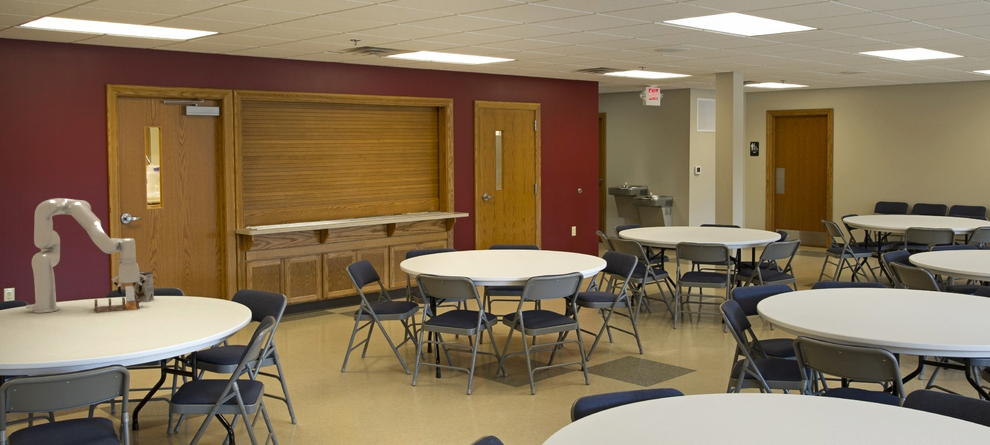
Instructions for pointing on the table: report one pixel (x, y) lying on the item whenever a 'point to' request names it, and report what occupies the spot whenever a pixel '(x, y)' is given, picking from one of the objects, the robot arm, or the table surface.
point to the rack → (117, 306)
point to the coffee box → (145, 288)
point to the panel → (130, 294)
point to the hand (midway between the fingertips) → (130, 293)
